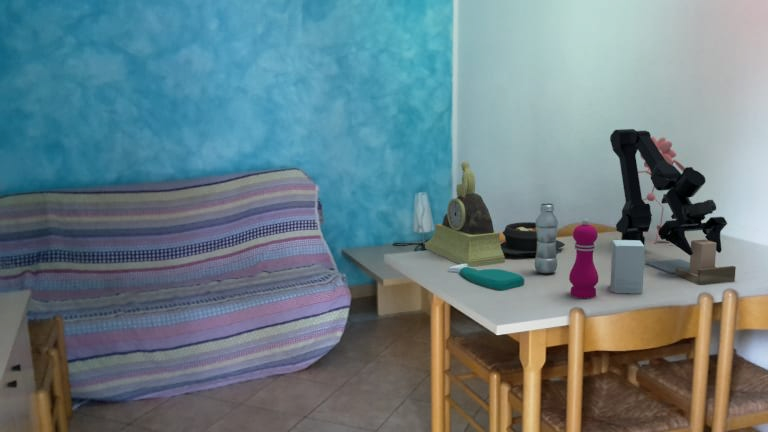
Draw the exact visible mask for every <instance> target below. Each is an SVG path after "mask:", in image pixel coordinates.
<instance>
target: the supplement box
mask: <svg viewBox="0 0 768 432" xmlns="http://www.w3.org/2000/svg"><path fill="white" fill-rule="evenodd" d="M645 247H646V245H643V244H642V242H641V241H640V240H621V239H613V240H612V242H611V259H610V260H611V261H610V264H611V265H610V288H611V290H612V292H613V293H615V294H616V293H617V294H638V295H640V294H643V290H644V267H645Z"/></svg>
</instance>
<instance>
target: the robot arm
mask: <svg viewBox="0 0 768 432" xmlns="http://www.w3.org/2000/svg"><path fill="white" fill-rule="evenodd" d="M609 137H610V138H609V141H610V144H611V148H612V151H613V152H614V153H615V155H616V156H617V158H619V165H620V174H621V179H622V185H623V192H624V193H623V194H624V198H625V200H624V201H625V202H624V205H623V207H622V209H621V218H620V219H619V220H618V222H617V223H616V224H615V229H616V232H618V233H620V234H621V237H620V238H621V239H620V240H640V241H641V242H642V244H643V245H644V246H646V245H645V243H646V237H645V235H644V233H649V230H650V226H651V224H652V223H651V222H652V217H653V215H652V211H651V205H650V203H646V202H645V200H644V201H643V197H642V189H641V182H640V178H639V177H640V175H639V173H638V171H639V170H638V164H637V157H636V156H637V152H639V155H640V154H641V155H642V157H643V158H644V160H643V161H644V162H646V163H647V165H648V166H649V168H650V170H651V175H650V181H651V182H652V184H653V187H655V188H654V189H655V190H657V191H659V192H660V191H661V192H663V191H666V193H664V194H663V196H662V199H661V203H660V204H661V205H663V204H664V205H665V204H668V207H669V209H670V210H671V213H672V214H671V215H670V218H671V220H666V221H664V223H663V224H662V225H661V226H662V227H661V228H660V229H659V233H658V234H659V235H658V237H659V238H660V239H661V240H665V241H666V242H669V243H671V244H672V245H673V246H676V247H677V248H679V249H680V250H681V251H682V252H684V253H686V254H687V255H688V256H690V255H692V254H693V252H692V250H691V244H689V241H688V239H687V237H686V234H685V233H686V232H694V231H695V232H696V231H702V233H703V234H704V235H705V236H704V238H705V240H708V241H712V242H715V243H717V244H716V253H719V254H720V253H721V252H722V242H721V232H722V230H723V229H724V228H725V227H726V226H727V225H728V221H727V220H726V218H725V216H712V217H709V219H708V220H707V221H706V222H702V221H704V220H705V219H706V216H707V215H709V214H710V215H711V214H714V211H716V210H717V204H716V203H715V201H714V199H706V200H704V201H701V202H700V201H699V202H695V203H692V201H691V199H690V198H692V197H694V196H695V195H696V194H697V193H698V192H699V191H700V189H701V188H702V187H703V186H704V185H705V183H706V177H705V176H704V175H703V174H702V173H701V172H700V171H699V170H695V169H694V167H693V166H686V167H685V169H684V171H682V173H681V172H680V171H679V169H677V168H676V166H674V164H673V165H671V164H669V163H667V162H666V160H665V159H664V157H663V156H662V154H661V153H660V151H659V150H658V148H657V147H656V145H655V144H654V142H653V140H652V139H651V137H652V136H651V133H650V132H649V131H647V130H636V129H633V128H626V129H624V128H623V129H622V128H621V129H615V130H613V132H612V133H611V134H610V136H609ZM650 170H649V171H650Z"/></svg>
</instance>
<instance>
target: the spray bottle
mask: <svg viewBox="0 0 768 432" xmlns="http://www.w3.org/2000/svg"><path fill="white" fill-rule="evenodd" d="M448 271H449V273H451V272H452V273H457V274H460V275H461V276H463V277H464V278H465V279H467V280H468V281H469V282H471V283H473V284H477V285H479V286H482V287H484V288H489V289H492V290H495V291H496V290H497V291H507V290H511V289H515V288H519V287H522V286H524V284H525V278H524V277H523V275H520V274H519V273H515V272H513V271H509V270H504V269H499V268H488V269H476V267H468V264H457V265H453V266H450V267H448Z"/></svg>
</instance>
